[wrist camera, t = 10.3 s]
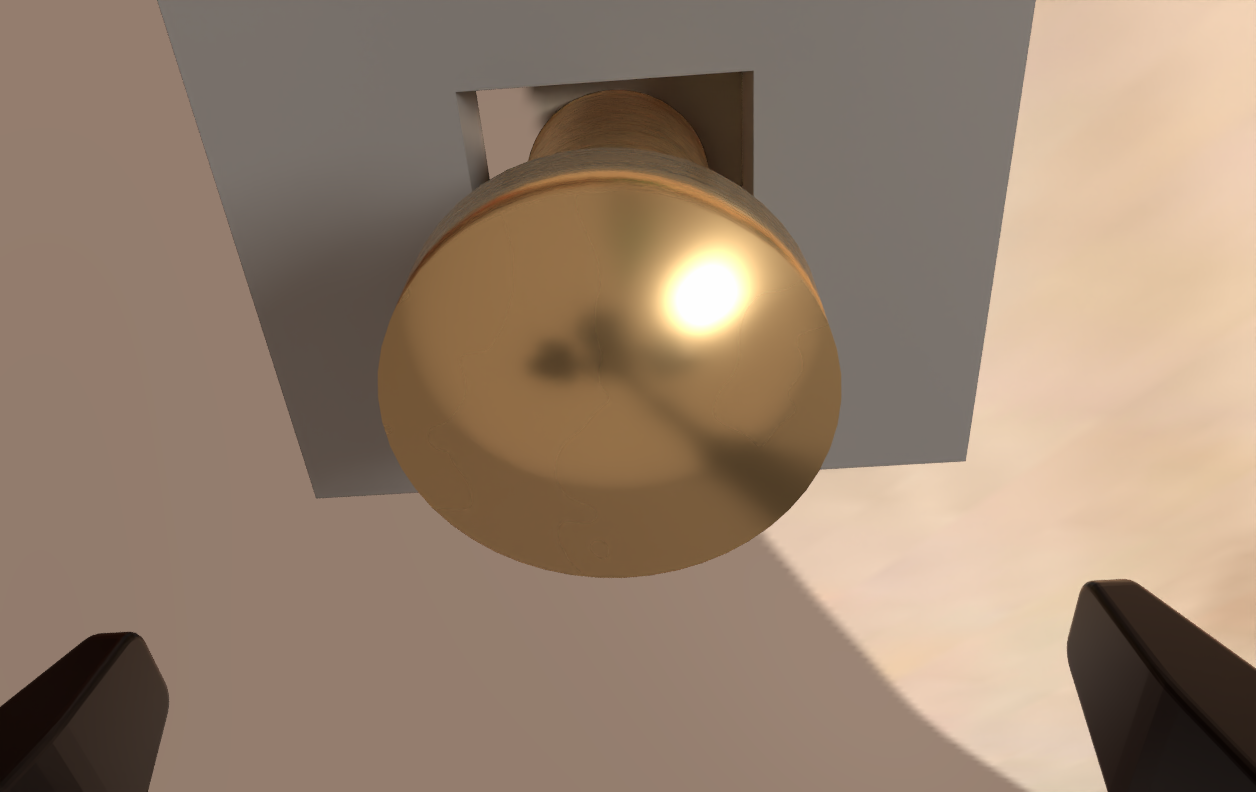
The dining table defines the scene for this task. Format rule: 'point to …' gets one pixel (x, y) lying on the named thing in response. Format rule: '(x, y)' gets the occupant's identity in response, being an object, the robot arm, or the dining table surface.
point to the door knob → (610, 354)
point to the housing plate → (594, 52)
